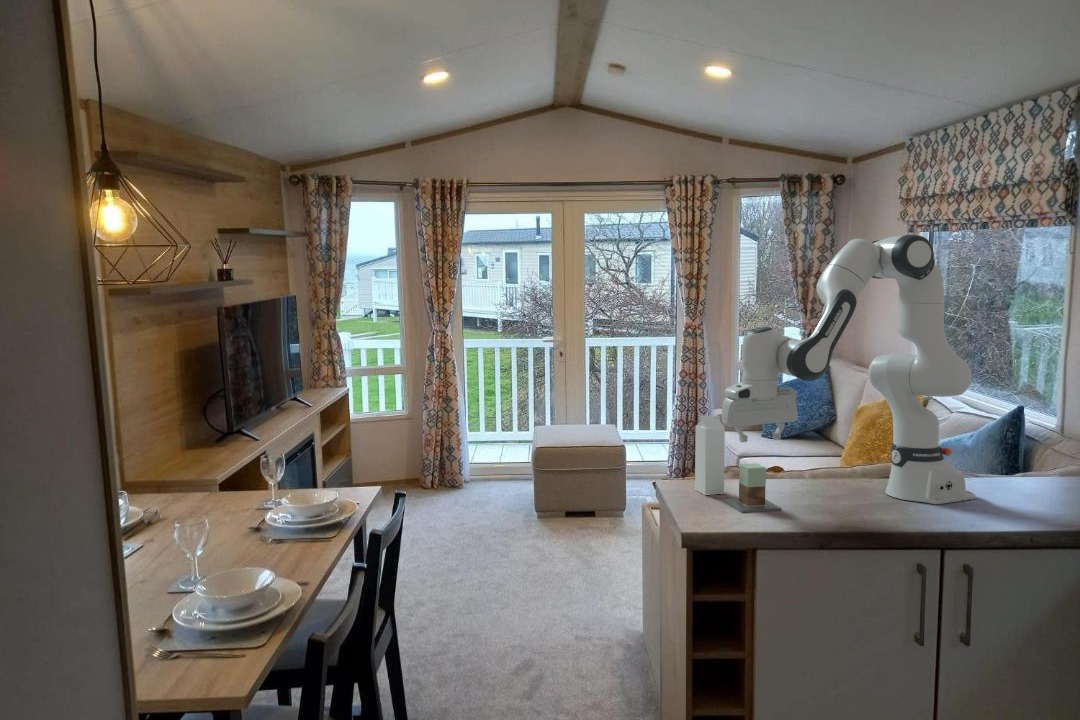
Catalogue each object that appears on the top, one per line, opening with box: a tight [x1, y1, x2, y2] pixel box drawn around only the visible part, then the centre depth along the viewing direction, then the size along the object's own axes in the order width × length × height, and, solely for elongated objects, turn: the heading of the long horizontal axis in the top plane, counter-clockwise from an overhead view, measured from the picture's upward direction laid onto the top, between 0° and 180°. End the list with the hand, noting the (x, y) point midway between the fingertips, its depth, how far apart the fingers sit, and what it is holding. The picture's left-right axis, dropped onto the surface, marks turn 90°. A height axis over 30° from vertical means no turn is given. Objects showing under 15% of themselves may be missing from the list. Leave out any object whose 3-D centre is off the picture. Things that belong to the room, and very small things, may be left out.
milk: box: [694, 414, 726, 495], centre depth 204 cm, size 6×6×22 cm
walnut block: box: [738, 482, 766, 506], centre depth 191 cm, size 5×5×5 cm
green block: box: [738, 462, 767, 487], centre depth 191 cm, size 5×5×5 cm
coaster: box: [722, 497, 782, 514], centre depth 191 cm, size 11×11×1 cm
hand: (760, 440), depth 192 cm, fingers open, 8 cm apart
